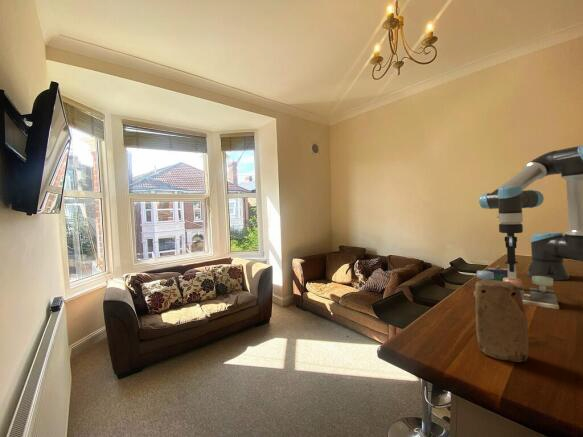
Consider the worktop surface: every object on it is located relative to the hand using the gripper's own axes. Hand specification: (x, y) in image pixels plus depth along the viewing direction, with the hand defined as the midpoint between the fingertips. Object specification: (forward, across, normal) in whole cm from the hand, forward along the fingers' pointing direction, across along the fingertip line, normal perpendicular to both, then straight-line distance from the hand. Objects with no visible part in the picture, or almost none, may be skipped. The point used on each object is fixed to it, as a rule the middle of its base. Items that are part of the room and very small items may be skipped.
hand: (512, 278), depth 105 cm
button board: (+9, 0, 0) cm, 9 cm away
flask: (+9, -15, -5) cm, 18 cm away
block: (+9, +52, -2) cm, 52 cm away
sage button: (+4, 0, +9) cm, 10 cm away
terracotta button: (+6, 0, 0) cm, 6 cm away
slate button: (+4, 0, -9) cm, 10 cm away
